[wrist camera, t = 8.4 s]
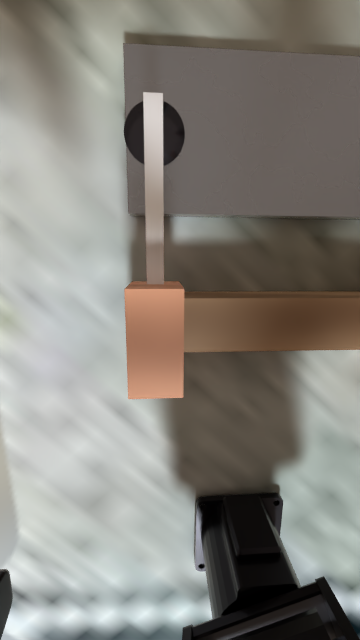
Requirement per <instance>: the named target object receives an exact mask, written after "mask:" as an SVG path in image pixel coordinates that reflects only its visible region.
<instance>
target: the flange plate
mask: <svg viewBox="0 0 360 640" xmlns="http://www.w3.org/2000/svg"><path fill="white" fill-rule="evenodd" d="M123 47H124V80H125V113H126V121H125V126H124V137H125V142H126V146H127V179H128V212H129V215H130V216H145V162H144V107H143V92H150V93H163V202H164V216H184V217H247V218H310V219H360V56H344V55H326V54H308V53H290V52H272V51H254V50H236V49H218V48H200V47H182V46H164V45H146V44H128V43H123Z"/></svg>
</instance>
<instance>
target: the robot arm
mask: <svg viewBox="0 0 360 640" xmlns="http://www.w3.org/2000/svg"><path fill="white" fill-rule="evenodd" d="M275 500H277V501H275ZM202 504H205V505H202ZM282 508H283V500H282V498H281V496H280V495H279V494H278V493H267V494H247V495H227V496H207V497H200V498H198V499H197V500H196V522H195V568H196V570H198V571H206V577H207V583H208V590H209V597H210V604H211V611H212V618H213V619H212V620H209V621H206V622H204V623H201V624H198V625H195V626H193V625H189V626H186V627H184V628H183V635H182V640H360V639H359V637H358V636H357V634H356V632H355V630H354V629H353V627H352V625H351V623H350V621H349V620H348V618H347V616H346V614H345V613H344V611H343V609H342V607H341V606H340V604H339V602H338V600H337V599H336V597H335V595H334V593H333V592H332V590H331V588H330V586H329V584H328V583H327V581H326V579H325V577H324V576H323V577H320V578H318V579H315V581H316V582H313V583H310V584H307V585H305V586H302V587H301V585H300V583H299V581H298V578H297V576H296V574H295V571H294V569H293V567H292V564H291V562H290V560H289V557H288V555H287V553H286V550H285V548H284V546H283V543H282V541H281V538H280V529H281V519H282ZM12 599H13V593H12V587H11V580H10V574H9V571H8V570H7V569H0V640H1V637H2V634H3V631H4V628H5V624H6V621H7V618H8V615H9V612H10V608H11V604H12Z"/></svg>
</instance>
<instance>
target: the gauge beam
mask: <svg viewBox="0 0 360 640" xmlns="http://www.w3.org/2000/svg"><path fill="white" fill-rule="evenodd" d="M143 107H144V162H145V217H146V272H147V281H132V282H131V283H130V284H129V285H128V286H127V287H126V288H125V317H126V346H127V374H128V399H151V398H183V377H184V352H235V351H298V350H360V291H230V292H184V288H183V286H182V285H181V284H180V282H179V281H164V202H163V93H150V92H143Z"/></svg>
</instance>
